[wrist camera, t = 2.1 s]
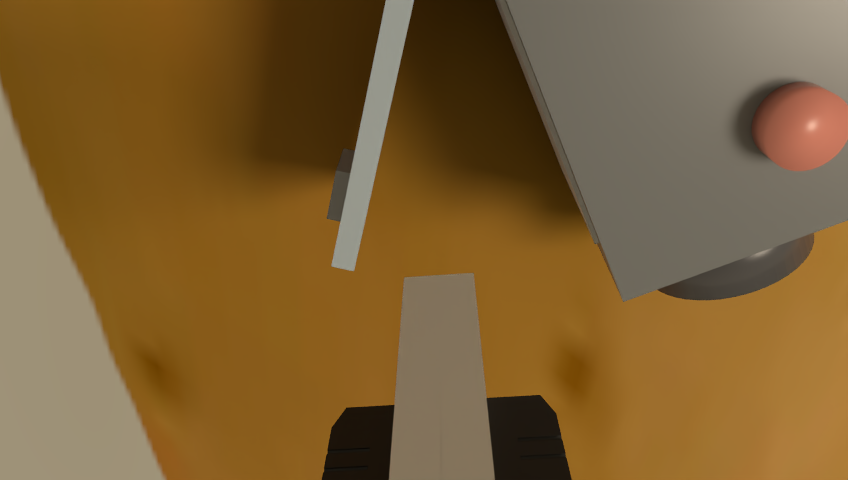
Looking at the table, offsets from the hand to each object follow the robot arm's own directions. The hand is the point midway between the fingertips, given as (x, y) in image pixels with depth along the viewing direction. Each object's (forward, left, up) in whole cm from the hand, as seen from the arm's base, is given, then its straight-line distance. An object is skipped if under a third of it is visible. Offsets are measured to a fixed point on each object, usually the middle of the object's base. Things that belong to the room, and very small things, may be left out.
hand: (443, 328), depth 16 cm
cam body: (0, +9, -18) cm, 19 cm away
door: (-4, 0, -16) cm, 17 cm away
